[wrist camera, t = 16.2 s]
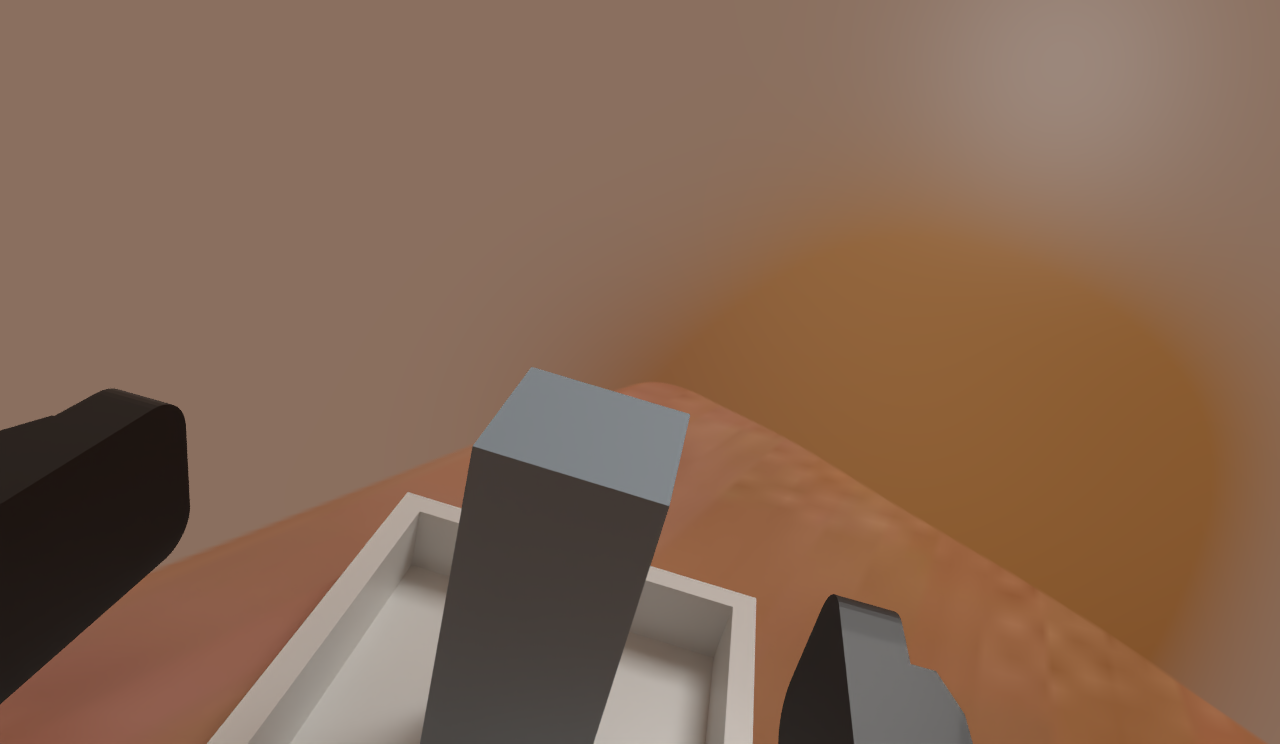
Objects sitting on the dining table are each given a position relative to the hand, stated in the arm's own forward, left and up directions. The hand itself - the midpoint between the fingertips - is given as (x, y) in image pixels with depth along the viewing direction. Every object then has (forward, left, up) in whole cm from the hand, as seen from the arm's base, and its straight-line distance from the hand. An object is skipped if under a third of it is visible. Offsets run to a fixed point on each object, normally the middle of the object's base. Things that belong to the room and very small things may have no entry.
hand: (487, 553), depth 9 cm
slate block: (0, -11, -18) cm, 21 cm away
